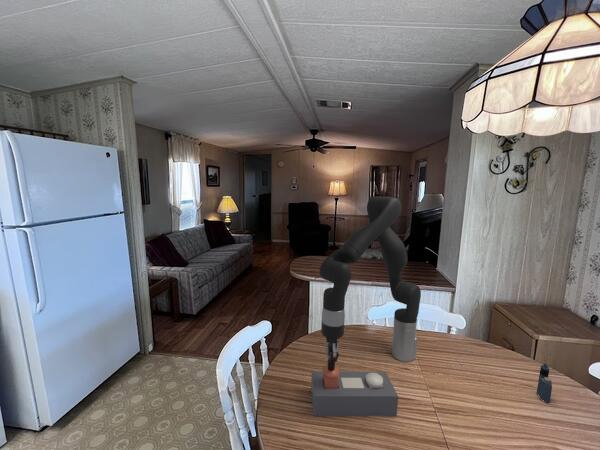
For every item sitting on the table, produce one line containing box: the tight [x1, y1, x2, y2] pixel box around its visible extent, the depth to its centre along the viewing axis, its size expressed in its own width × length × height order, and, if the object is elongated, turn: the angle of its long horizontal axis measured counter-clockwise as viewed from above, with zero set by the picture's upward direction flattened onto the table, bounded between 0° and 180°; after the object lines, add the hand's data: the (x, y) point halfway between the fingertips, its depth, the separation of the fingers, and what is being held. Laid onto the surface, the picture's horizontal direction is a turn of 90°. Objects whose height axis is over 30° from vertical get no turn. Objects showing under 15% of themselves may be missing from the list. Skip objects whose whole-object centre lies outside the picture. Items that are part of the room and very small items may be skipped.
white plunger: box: [366, 373, 383, 389], centre depth 95 cm, size 6×6×8 cm
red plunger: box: [322, 364, 340, 388], centre depth 94 cm, size 6×6×8 cm
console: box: [310, 371, 399, 417], centre depth 95 cm, size 27×12×7 cm, turn 92°
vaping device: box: [536, 363, 553, 403], centre depth 99 cm, size 3×5×12 cm, turn 161°
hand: (330, 368), depth 94 cm, fingers closed
